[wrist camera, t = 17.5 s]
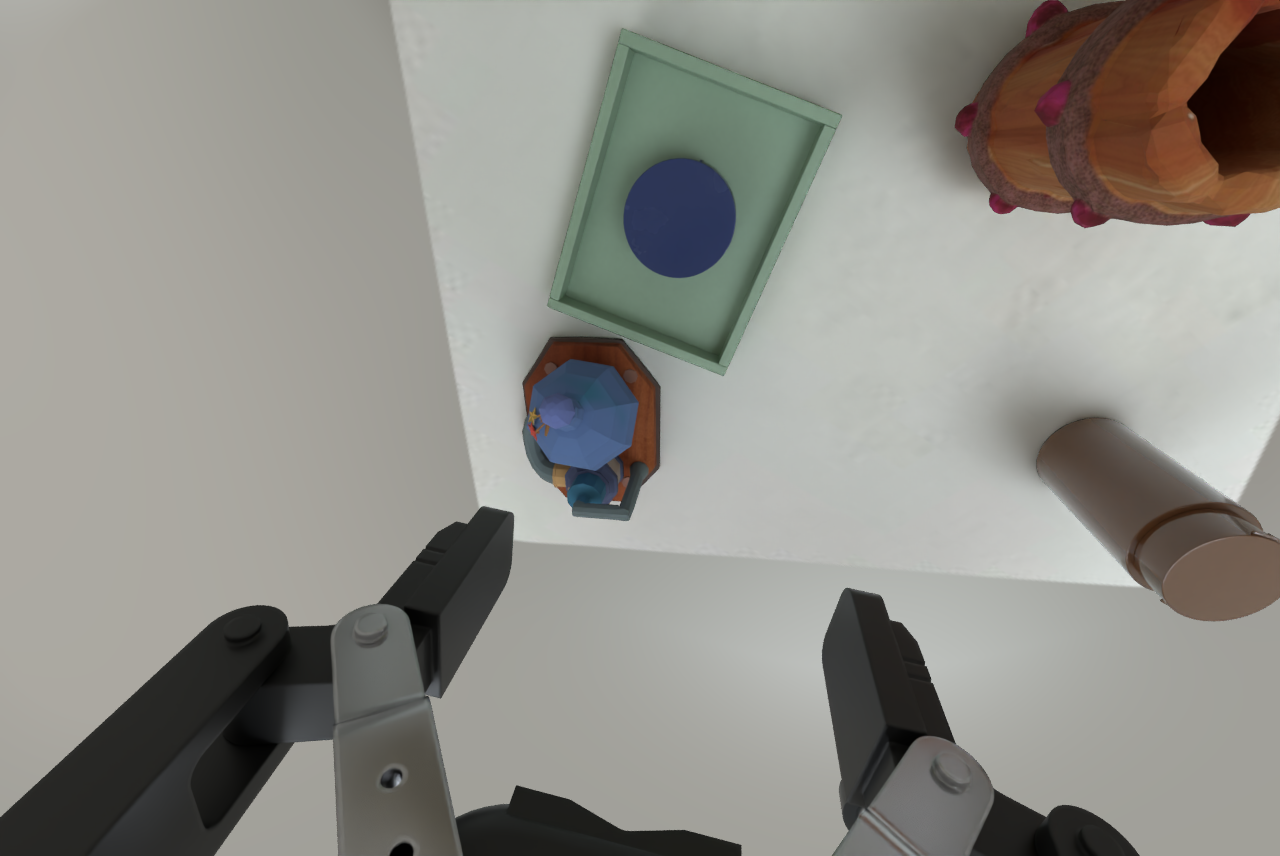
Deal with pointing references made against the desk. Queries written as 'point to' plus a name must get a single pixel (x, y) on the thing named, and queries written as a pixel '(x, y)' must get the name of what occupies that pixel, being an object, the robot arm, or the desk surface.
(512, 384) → the desk surface
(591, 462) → the model
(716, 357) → the tray
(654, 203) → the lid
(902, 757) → the robot arm
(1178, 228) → the desk surface
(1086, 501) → the jar
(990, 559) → the desk surface
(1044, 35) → the mug
